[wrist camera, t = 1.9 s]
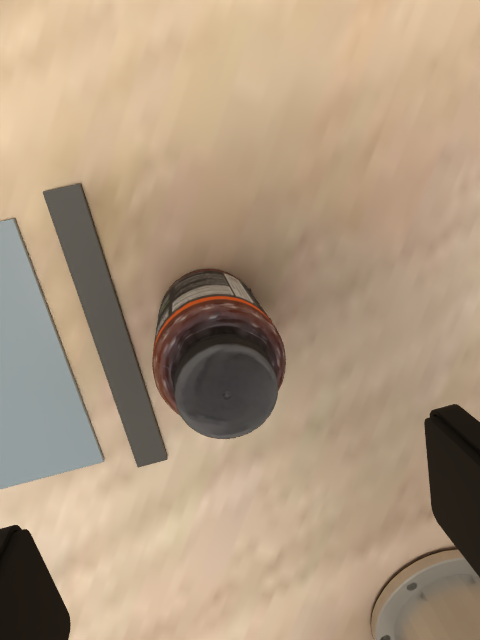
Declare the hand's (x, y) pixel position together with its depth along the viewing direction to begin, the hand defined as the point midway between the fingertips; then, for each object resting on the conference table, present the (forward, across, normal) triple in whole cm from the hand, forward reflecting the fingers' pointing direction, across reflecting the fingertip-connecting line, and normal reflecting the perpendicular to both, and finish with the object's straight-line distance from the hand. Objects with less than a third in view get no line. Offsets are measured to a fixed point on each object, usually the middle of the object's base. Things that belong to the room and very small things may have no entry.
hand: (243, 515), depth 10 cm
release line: (+18, +6, +1) cm, 19 cm away
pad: (+18, +14, +1) cm, 23 cm away
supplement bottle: (+18, 0, +1) cm, 18 cm away
